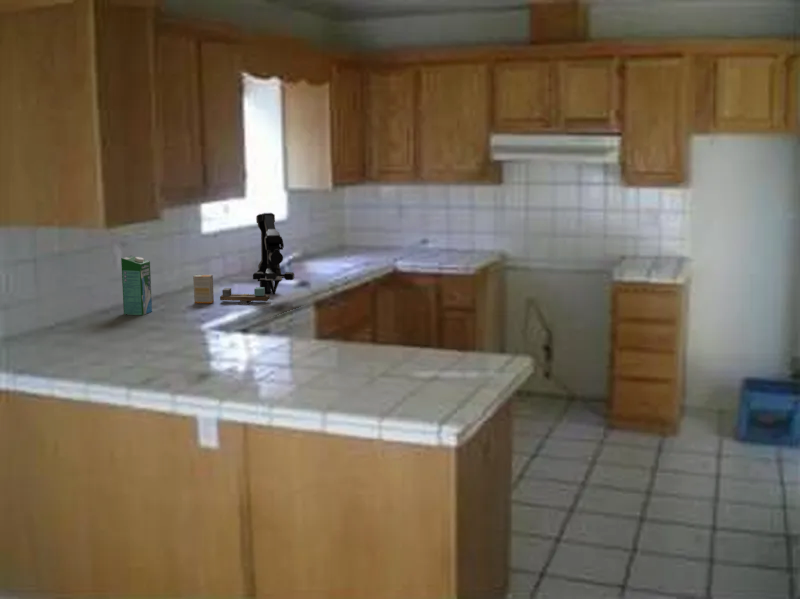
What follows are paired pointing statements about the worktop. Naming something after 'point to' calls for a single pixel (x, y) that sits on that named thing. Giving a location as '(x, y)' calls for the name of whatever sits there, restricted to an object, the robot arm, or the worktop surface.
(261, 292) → the block
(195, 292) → the supplement box
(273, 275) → the robot arm
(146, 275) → the milk carton
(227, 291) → the brown long slotted block
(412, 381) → the worktop surface
